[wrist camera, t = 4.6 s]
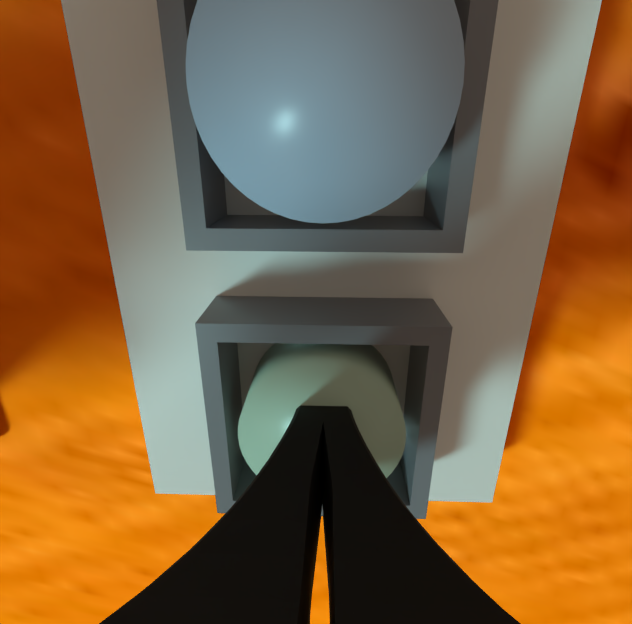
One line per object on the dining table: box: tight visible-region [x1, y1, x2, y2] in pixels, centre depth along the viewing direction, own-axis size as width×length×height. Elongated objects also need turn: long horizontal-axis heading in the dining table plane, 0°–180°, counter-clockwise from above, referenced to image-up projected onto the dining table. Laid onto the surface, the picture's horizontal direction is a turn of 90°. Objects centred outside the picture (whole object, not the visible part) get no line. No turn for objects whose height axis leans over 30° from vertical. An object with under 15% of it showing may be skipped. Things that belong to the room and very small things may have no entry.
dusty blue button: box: [186, 0, 465, 223], centre depth 7 cm, size 4×4×2 cm
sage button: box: [238, 343, 406, 478], centre depth 12 cm, size 4×4×2 cm
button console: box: [61, 0, 602, 519], centre depth 10 cm, size 12×25×4 cm, turn 0°
